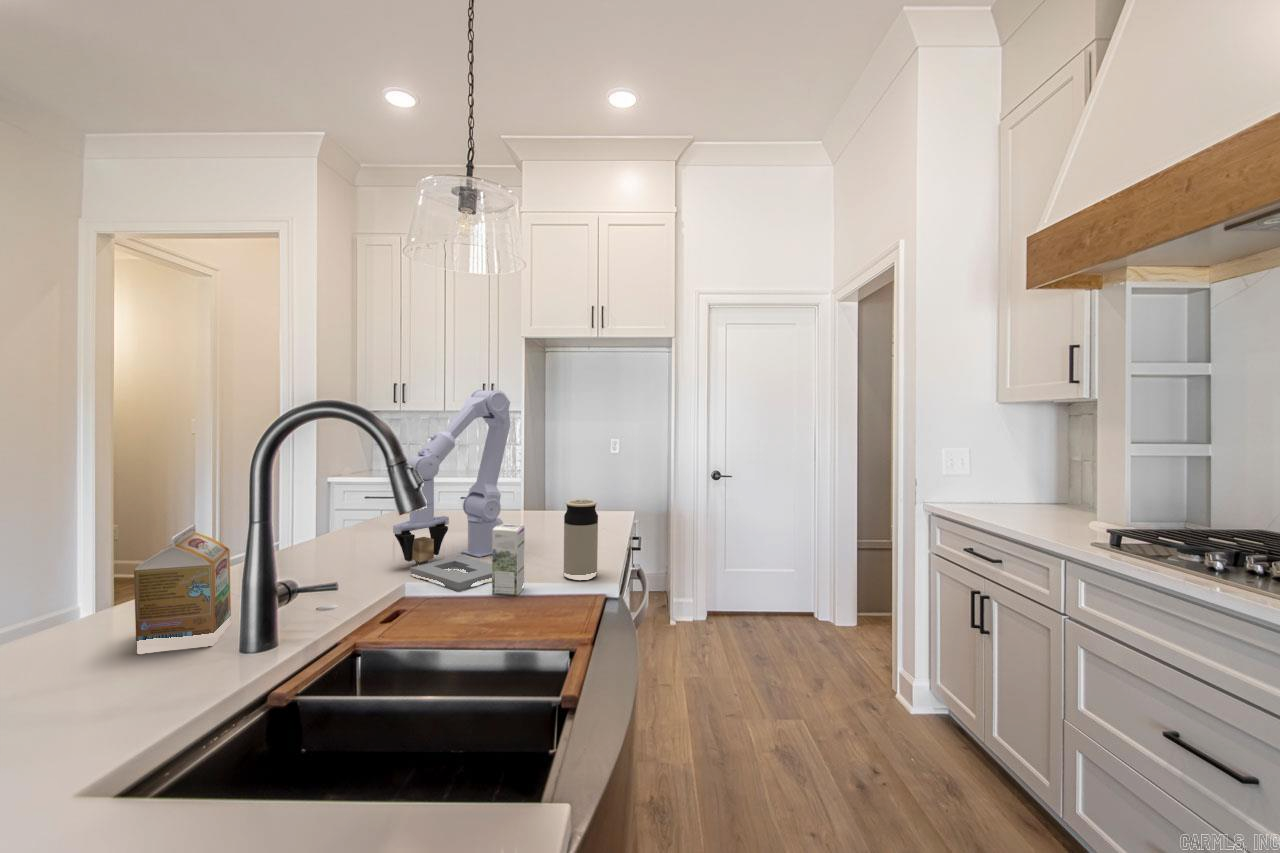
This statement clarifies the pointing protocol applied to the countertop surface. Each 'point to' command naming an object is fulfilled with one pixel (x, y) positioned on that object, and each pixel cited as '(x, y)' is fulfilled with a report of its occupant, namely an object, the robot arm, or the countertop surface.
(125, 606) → the countertop surface
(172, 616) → the milk carton
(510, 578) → the syrup box
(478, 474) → the robot arm
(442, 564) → the keyhole board
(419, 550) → the keyhole peg
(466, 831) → the countertop surface
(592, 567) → the travel mug
